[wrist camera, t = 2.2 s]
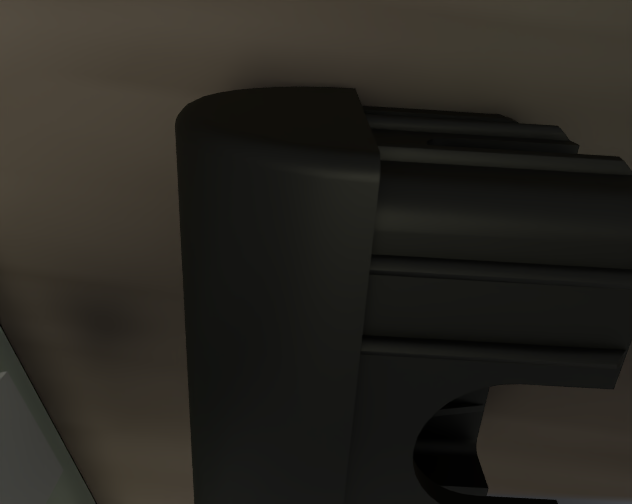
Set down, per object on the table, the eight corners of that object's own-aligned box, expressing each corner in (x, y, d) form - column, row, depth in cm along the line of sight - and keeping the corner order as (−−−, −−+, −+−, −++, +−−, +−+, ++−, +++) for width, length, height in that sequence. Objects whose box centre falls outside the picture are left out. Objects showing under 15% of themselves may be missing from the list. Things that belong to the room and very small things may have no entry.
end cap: (219, 74, 12) (113, 142, 6) (527, 93, 12) (730, 179, 6) (225, 415, 16) (165, 660, 10) (455, 427, 16) (533, 678, 10)
